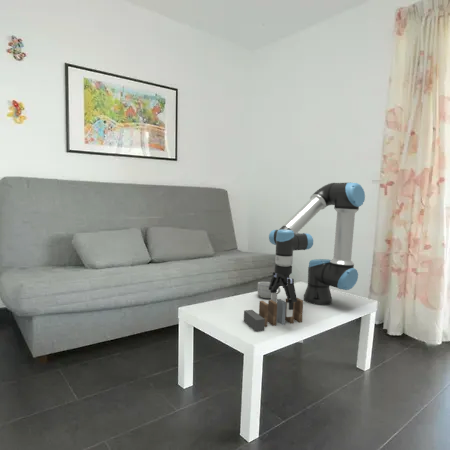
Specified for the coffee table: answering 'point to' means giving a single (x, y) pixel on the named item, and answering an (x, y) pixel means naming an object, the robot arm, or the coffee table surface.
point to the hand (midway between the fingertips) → (281, 311)
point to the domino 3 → (281, 311)
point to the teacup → (265, 290)
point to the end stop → (254, 320)
